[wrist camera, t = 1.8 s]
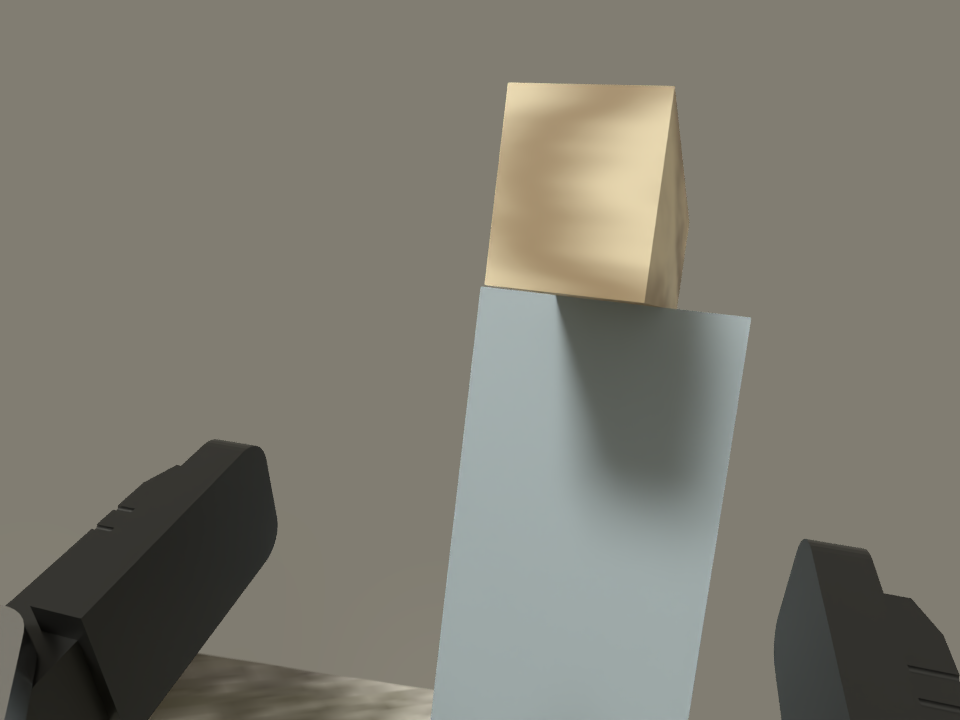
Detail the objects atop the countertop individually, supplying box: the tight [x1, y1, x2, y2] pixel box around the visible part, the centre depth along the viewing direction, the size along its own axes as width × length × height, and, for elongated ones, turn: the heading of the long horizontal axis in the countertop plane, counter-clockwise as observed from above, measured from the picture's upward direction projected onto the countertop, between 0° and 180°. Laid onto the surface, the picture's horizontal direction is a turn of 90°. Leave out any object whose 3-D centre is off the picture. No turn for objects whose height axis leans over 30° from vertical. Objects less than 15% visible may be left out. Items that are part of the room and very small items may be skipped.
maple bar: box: [485, 83, 689, 309], centre depth 28 cm, size 4×24×5 cm, turn 162°
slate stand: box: [431, 287, 751, 720], centre depth 33 cm, size 10×12×32 cm
